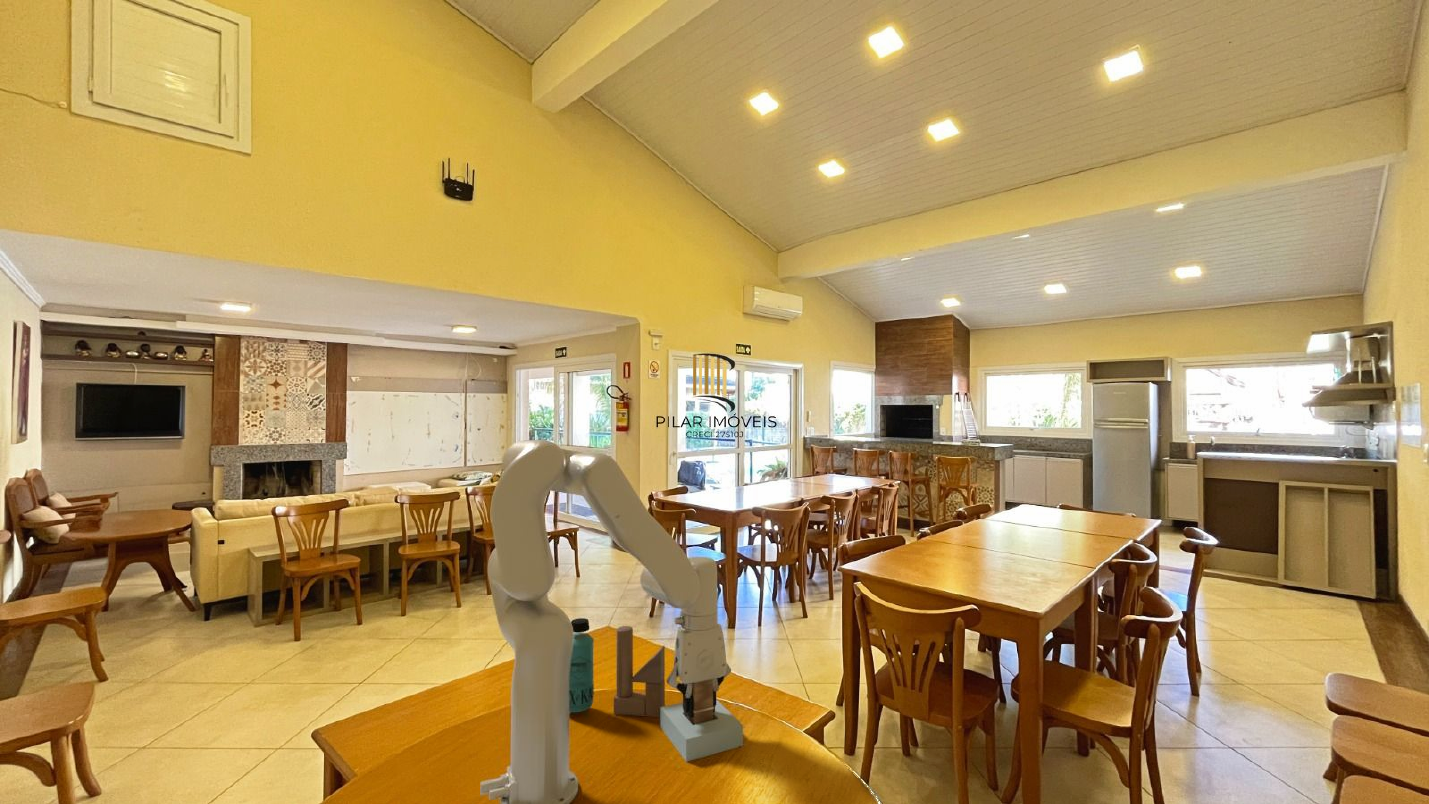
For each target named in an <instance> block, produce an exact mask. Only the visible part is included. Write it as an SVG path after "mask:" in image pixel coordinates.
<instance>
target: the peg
mask: <svg viewBox="0 0 1429 804" xmlns="http://www.w3.org/2000/svg"><path fill="white" fill-rule="evenodd" d="M691 696H692V697H693V699H694V710H693V712H694V717H693V718H690V717H689V716H688V715H687V717H688V718H689V719H690V722H691V724H692V725H696V724H700V723H704V722H708V721H712V720H713V709H714V707H713V679H712V680H707V681H702V682H698V683H693V687H692V693H691Z"/></svg>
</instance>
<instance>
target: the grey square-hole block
mask: <svg viewBox="0 0 1429 804" xmlns="http://www.w3.org/2000/svg"><path fill="white" fill-rule="evenodd" d="M659 719H660V722H659V723H660V728H661V729H662V731H663V733H664V734H665V736H666V737H667V738H668V739H669V741H670V742H671V743H672V745H673V746H674V748H676V750H677V751H678V753H679V754H680V756H682V758H683V760H684V761H685V762H691V761H694V760H697V759H701V758H705V757H708V756H712V755H715V754H718V753H720V754H721V753H722V752H727V751H729V750H730V751H731V750H734V749H736V748H740V747H739V746H741V747H743V746H744V740H743V739H744V733H743V732H744V729H743V728H744V727H743V726H744V724H743V723H741V721H739V719H737V718H736V716H735V715H733V714H732V713H731V712H730V711H729V710H728V709H727V708H726V707H725V706H724V705H723V704H722V703H721V702H720V701H719V700H718V699H717V698H716V706H715V712H714V713H713V720H712V721H708V722H704V723H700V724H696V725H692V724H691V722H690V719H689V718H688V717H687V714H686V713H685V712H684V710H683V701H682V702H677V703H674V704H669V705H665V706H664V707H660V718H659Z"/></svg>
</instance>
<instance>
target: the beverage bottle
mask: <svg viewBox="0 0 1429 804" xmlns="http://www.w3.org/2000/svg"><path fill="white" fill-rule="evenodd" d="M570 622H571V624H572V627H573V633H574V642H573V650H572V656H571V663H570V676H569V713H580V712H585V711H587V710H589V709H590V708H591V707H592V706H593V703H594V699H595V698H594V697H595V696H594V694H595V692H594V691H595V690H594V685H595V681H594V673H595V671H594V641H595V639H594V637H592V635H590V634H589V633H587V632H588V631H589V630H590V622H589V619H588V618H585V617H584V618H583V617H581V618H575V619H572V620H570Z"/></svg>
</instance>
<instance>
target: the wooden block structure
mask: <svg viewBox="0 0 1429 804" xmlns="http://www.w3.org/2000/svg"><path fill="white" fill-rule="evenodd" d="M665 653H666V651H665V644H664V645H662V647H661V648H659V649H658V650H657V651H656V653H654V655H652V657H650V658H649V660H647V661H646V663H644V664H643V665H642V667H640V668H639V670H638V671H636V673H634V629H633V626H630V625H629V626H628V625H623V626H619V627H617V629H616V693H615V696H614V698H613V714H614V715H623V716H636V717H648V718H649V717H650V718H659V719H660V707H664V706H666V702H665V701H666V699H665V697H666V691H665V690H666V688H665V687H666V686H665V685H666V682H665V674H666V672H665V671H666V669H665V667H666V665H665V664H666V663H665V659H666V658H665ZM634 683H644V685H645V687H644V688H645V694H644V693H643V692H641V691H640V692H638V691H634Z"/></svg>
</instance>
